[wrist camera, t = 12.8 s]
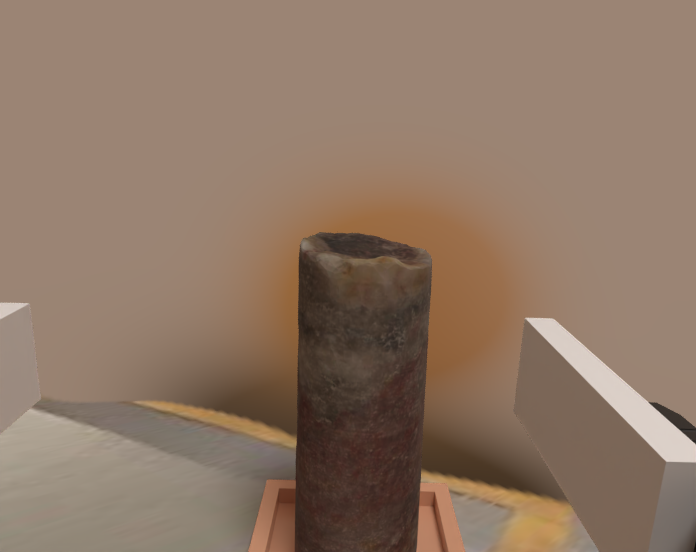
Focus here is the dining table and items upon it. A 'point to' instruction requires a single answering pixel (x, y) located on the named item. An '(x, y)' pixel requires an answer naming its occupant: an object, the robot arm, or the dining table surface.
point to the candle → (360, 393)
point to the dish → (279, 519)
